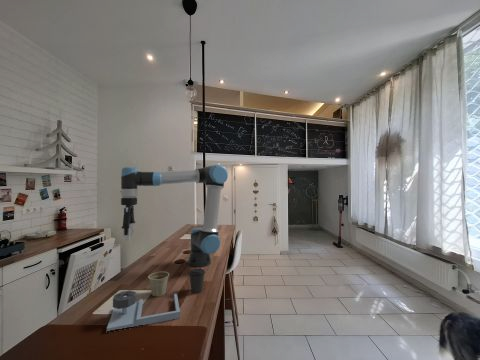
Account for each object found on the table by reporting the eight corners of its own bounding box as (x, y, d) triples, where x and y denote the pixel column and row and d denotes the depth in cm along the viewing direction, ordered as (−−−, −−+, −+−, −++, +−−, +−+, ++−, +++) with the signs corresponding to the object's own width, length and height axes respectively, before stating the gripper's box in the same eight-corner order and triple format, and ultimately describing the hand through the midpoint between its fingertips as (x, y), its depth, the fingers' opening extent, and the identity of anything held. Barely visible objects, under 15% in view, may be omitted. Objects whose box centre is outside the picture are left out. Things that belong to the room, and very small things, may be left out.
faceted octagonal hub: (136, 297, 91) (136, 289, 91) (134, 306, 84) (134, 298, 84) (115, 300, 89) (115, 292, 89) (111, 310, 82) (111, 301, 82)
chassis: (176, 298, 101) (177, 281, 101) (179, 318, 86) (180, 297, 86) (115, 309, 92) (115, 289, 93) (106, 332, 77) (106, 309, 78)
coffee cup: (208, 288, 111) (208, 268, 112) (200, 295, 104) (200, 274, 104) (193, 286, 114) (194, 266, 114) (184, 293, 106) (185, 271, 107)
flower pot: (156, 300, 99) (157, 281, 99) (143, 295, 104) (143, 276, 104) (173, 292, 107) (173, 274, 107) (160, 287, 112) (160, 270, 112)
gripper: (125, 196, 126) (124, 234, 125) (115, 198, 102) (115, 245, 102) (139, 196, 128) (139, 233, 128) (133, 198, 105) (133, 243, 104)
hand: (128, 238), depth 115 cm, fingers open, 13 cm apart
